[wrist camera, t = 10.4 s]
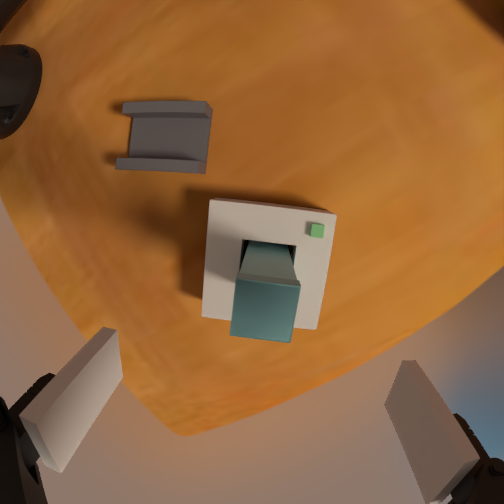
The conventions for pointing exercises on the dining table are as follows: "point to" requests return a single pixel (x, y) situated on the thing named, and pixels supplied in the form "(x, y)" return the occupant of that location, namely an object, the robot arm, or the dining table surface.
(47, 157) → the dining table surface
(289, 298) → the plug
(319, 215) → the port
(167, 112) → the grey u-shaped block
